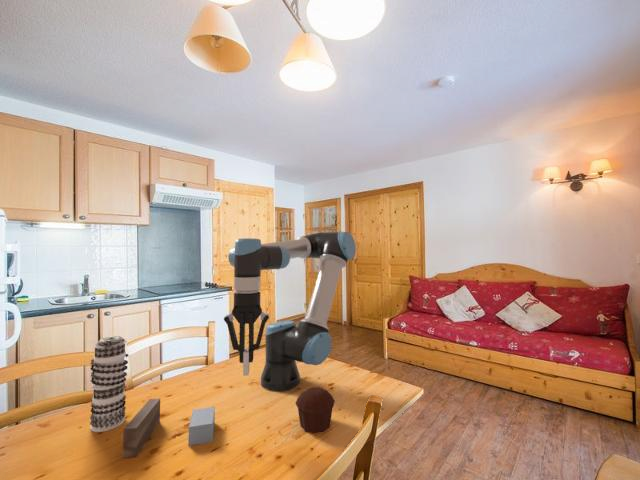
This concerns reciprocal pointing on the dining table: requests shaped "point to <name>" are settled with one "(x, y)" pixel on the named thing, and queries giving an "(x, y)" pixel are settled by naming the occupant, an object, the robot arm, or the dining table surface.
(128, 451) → the board
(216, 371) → the dining table surface
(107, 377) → the decorative candle
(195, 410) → the slate block
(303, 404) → the muffin
